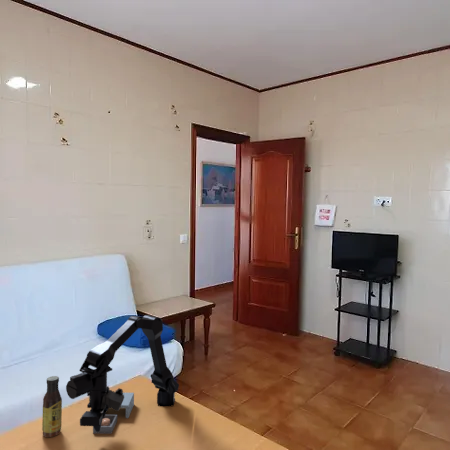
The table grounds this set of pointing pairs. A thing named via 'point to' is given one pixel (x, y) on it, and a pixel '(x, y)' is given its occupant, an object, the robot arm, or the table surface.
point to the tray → (107, 428)
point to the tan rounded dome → (105, 422)
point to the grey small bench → (128, 403)
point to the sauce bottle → (52, 408)
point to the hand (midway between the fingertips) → (98, 431)
